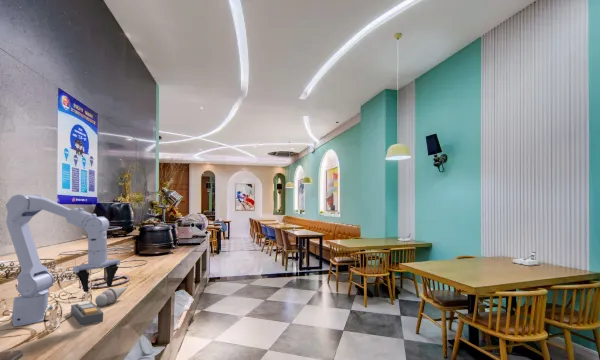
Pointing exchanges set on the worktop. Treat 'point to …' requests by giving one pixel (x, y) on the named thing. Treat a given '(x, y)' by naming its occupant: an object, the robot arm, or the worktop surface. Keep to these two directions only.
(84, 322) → the grey compartment tray
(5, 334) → the worktop surface
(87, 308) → the grey key
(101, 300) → the ice cream cone
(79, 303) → the cream key
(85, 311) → the amber key
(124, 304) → the worktop surface
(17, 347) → the worktop surface
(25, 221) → the robot arm
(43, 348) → the worktop surface
